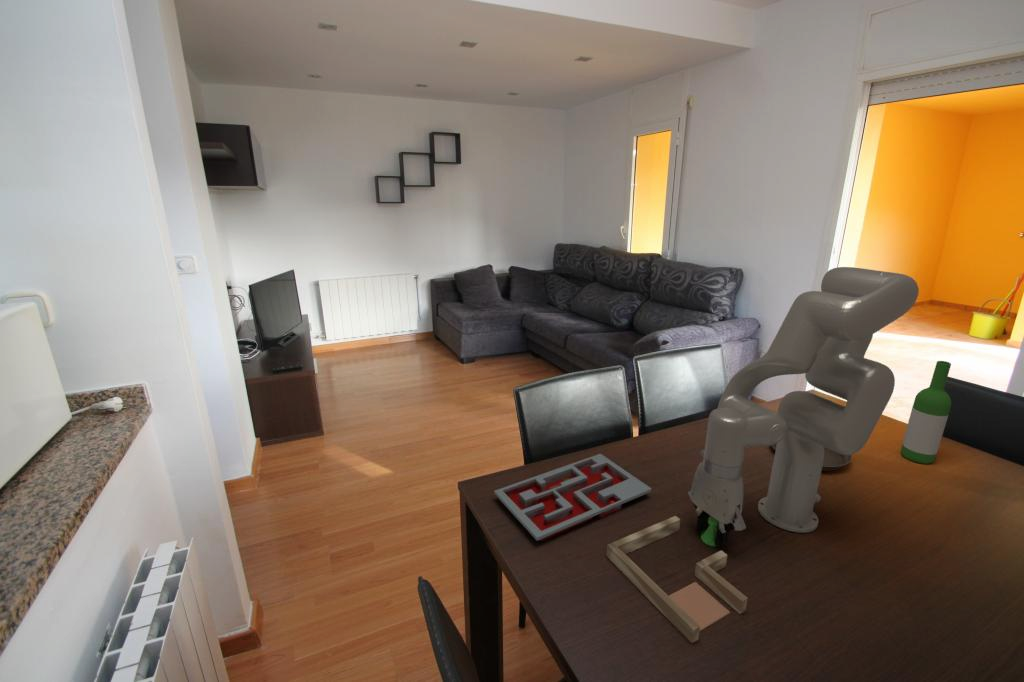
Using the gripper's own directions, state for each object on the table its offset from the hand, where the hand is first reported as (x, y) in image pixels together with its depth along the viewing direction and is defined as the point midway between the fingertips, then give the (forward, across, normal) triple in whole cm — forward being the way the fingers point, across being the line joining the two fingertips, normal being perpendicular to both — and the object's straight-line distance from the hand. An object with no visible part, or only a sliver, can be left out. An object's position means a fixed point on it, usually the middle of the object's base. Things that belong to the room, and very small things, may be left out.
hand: (711, 536), depth 103 cm
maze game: (+2, -27, -19) cm, 33 cm away
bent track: (+1, +5, -14) cm, 15 cm away
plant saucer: (+1, -11, +55) cm, 56 cm away
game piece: (+1, 0, 0) cm, 1 cm away
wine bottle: (+1, +5, +82) cm, 82 cm away
